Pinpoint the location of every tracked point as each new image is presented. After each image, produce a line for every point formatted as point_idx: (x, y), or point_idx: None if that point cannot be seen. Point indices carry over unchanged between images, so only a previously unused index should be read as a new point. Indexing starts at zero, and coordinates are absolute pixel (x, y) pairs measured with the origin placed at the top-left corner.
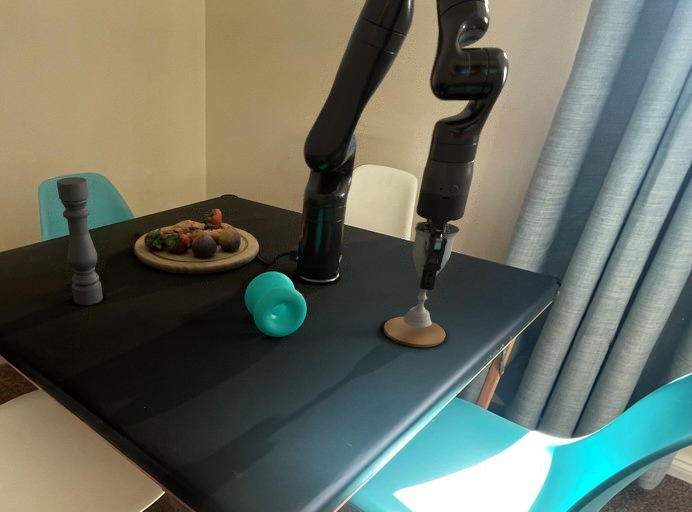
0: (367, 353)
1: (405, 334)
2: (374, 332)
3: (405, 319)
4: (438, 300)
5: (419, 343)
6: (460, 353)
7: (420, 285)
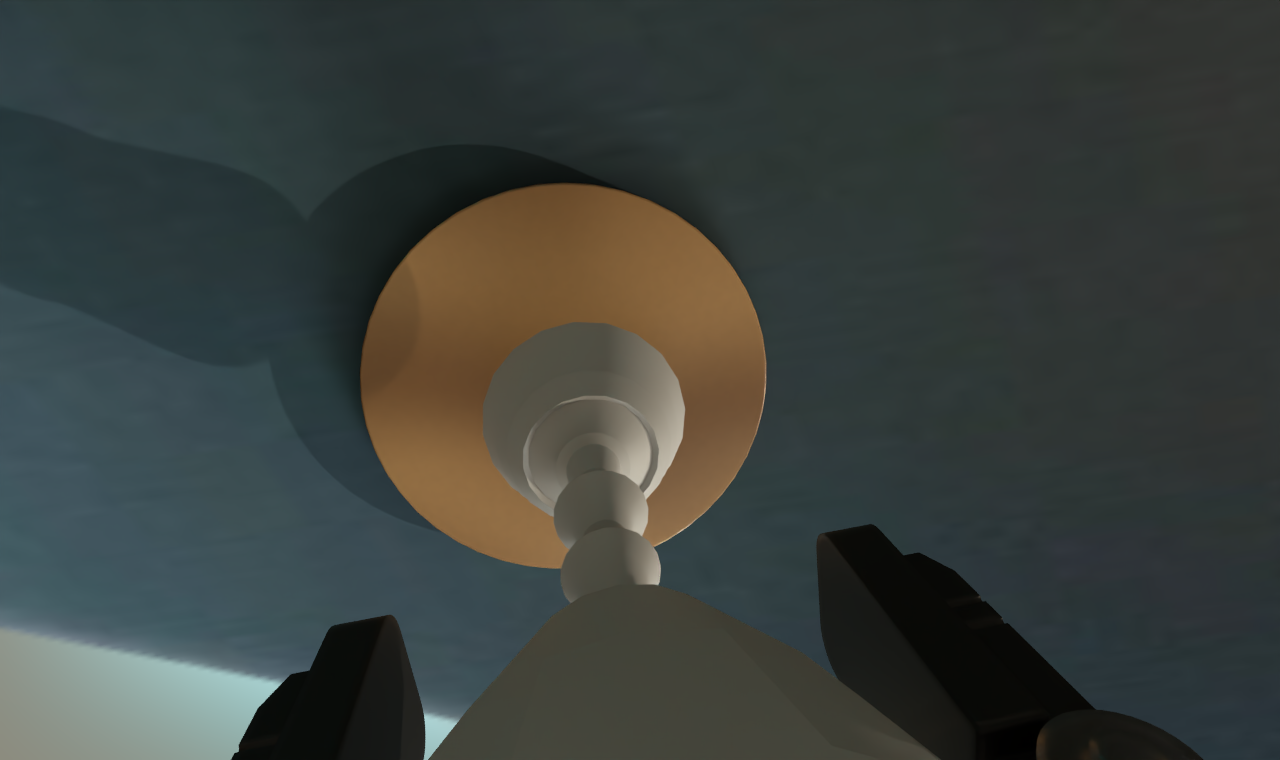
0: (83, 129)
1: (473, 349)
2: (452, 124)
3: (543, 346)
4: (1082, 456)
5: (385, 451)
6: (427, 652)
7: (320, 648)
